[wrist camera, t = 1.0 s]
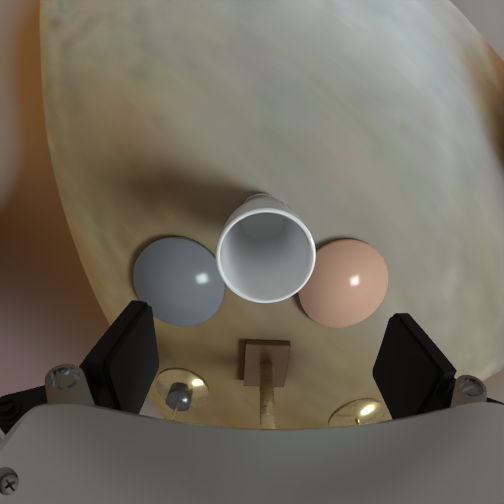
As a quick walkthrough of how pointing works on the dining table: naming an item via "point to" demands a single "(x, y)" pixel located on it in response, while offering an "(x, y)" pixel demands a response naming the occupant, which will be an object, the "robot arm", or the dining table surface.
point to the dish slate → (179, 280)
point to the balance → (258, 374)
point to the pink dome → (344, 283)
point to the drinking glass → (265, 250)
